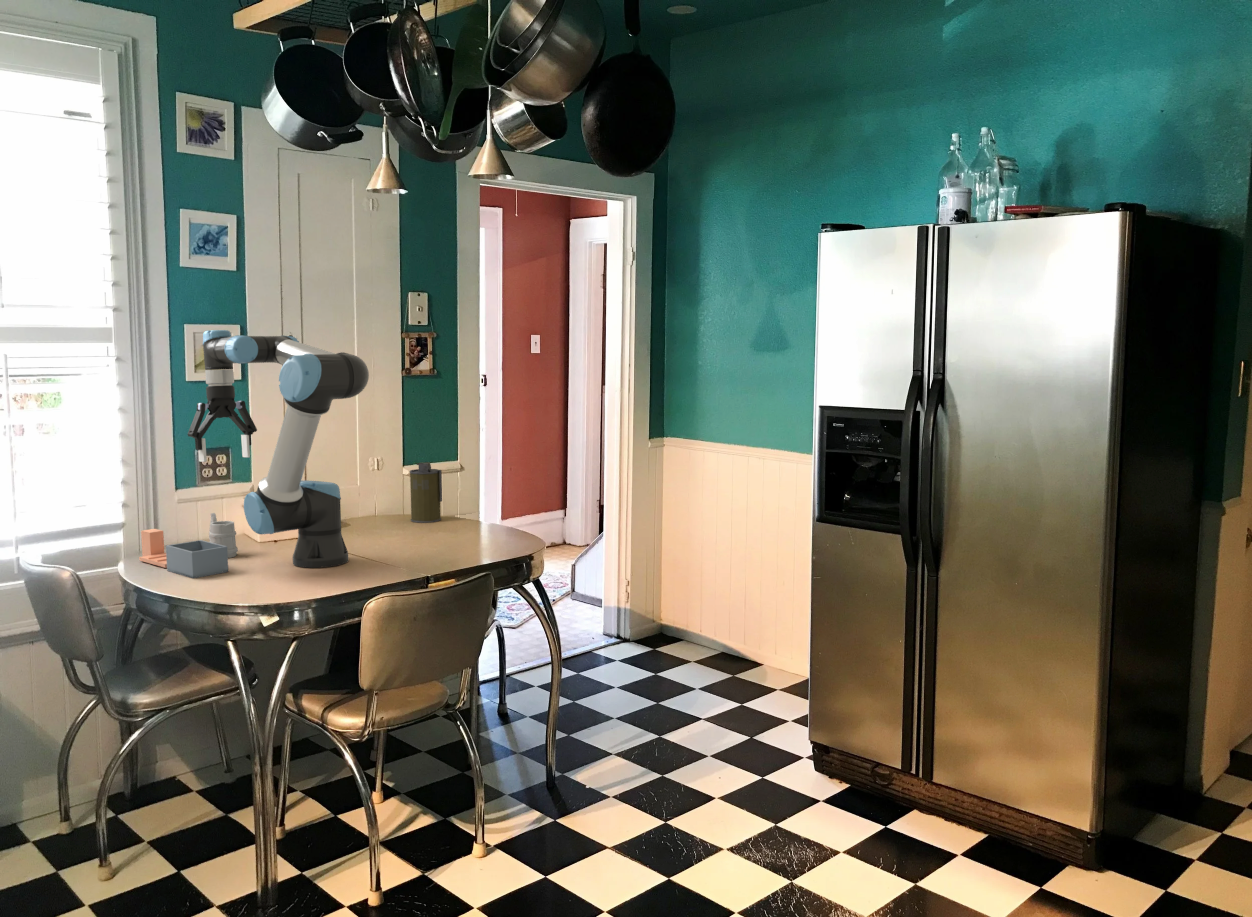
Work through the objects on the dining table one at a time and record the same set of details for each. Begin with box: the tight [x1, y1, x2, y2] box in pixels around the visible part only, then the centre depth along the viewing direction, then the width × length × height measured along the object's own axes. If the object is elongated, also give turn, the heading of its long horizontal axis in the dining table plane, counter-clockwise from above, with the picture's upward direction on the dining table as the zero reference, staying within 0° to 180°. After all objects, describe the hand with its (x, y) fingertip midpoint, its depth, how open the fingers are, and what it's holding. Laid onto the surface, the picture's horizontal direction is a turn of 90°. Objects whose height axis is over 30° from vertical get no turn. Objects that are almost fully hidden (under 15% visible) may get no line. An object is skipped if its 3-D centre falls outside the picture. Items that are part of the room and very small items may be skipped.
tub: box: [165, 539, 229, 579], centre depth 282 cm, size 14×10×7 cm
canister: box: [409, 462, 443, 524], centre depth 360 cm, size 11×10×20 cm
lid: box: [138, 528, 167, 569], centre depth 295 cm, size 20×11×8 cm, turn 51°
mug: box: [208, 512, 239, 559], centre depth 303 cm, size 8×12×12 cm, turn 46°
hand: (224, 459), depth 297 cm, fingers open, 13 cm apart
